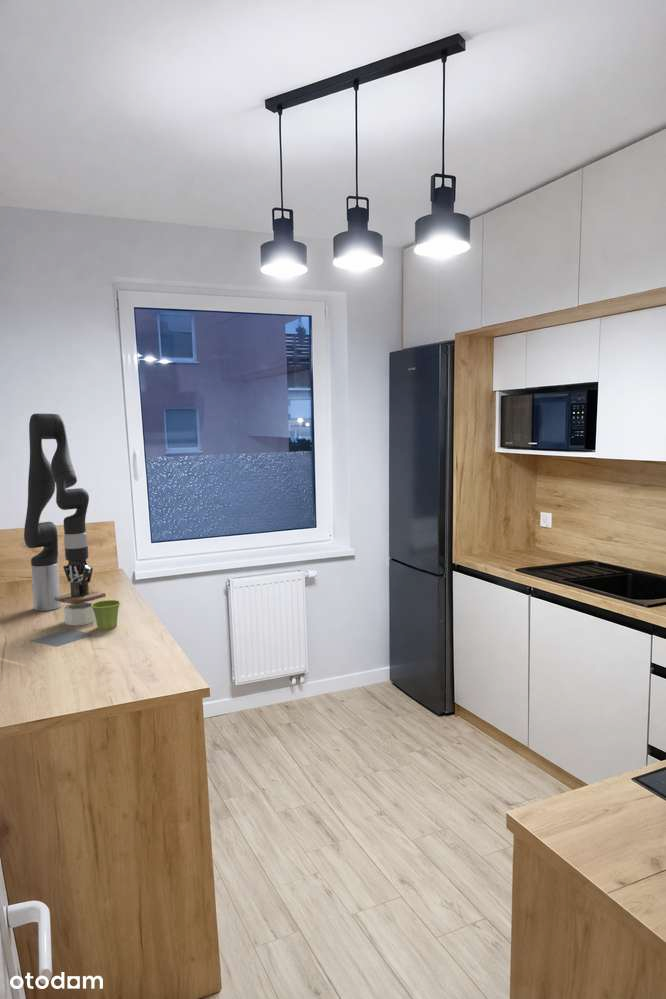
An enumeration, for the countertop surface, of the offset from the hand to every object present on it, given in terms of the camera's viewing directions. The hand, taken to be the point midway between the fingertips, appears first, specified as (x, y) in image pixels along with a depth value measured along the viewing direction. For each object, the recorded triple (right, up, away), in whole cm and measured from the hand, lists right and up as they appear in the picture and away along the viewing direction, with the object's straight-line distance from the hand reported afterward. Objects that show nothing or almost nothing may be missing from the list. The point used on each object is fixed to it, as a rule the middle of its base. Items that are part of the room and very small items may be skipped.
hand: (79, 594), depth 229 cm
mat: (+1, -12, -17) cm, 21 cm away
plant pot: (+12, -11, -7) cm, 18 cm away
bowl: (0, -10, +1) cm, 10 cm away
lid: (0, -2, 0) cm, 2 cm away
